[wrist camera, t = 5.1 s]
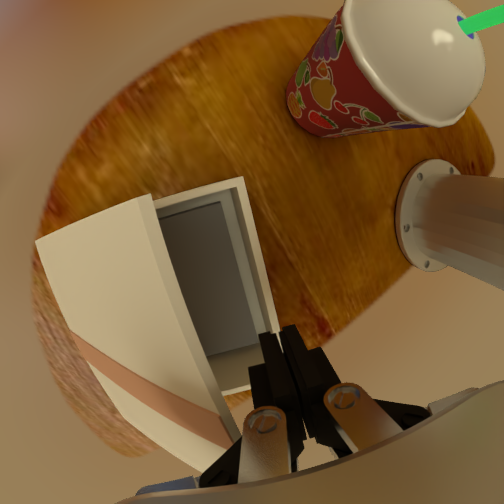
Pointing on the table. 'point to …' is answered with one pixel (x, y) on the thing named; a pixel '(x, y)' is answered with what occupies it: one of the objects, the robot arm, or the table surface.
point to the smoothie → (390, 68)
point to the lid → (138, 329)
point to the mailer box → (220, 276)
